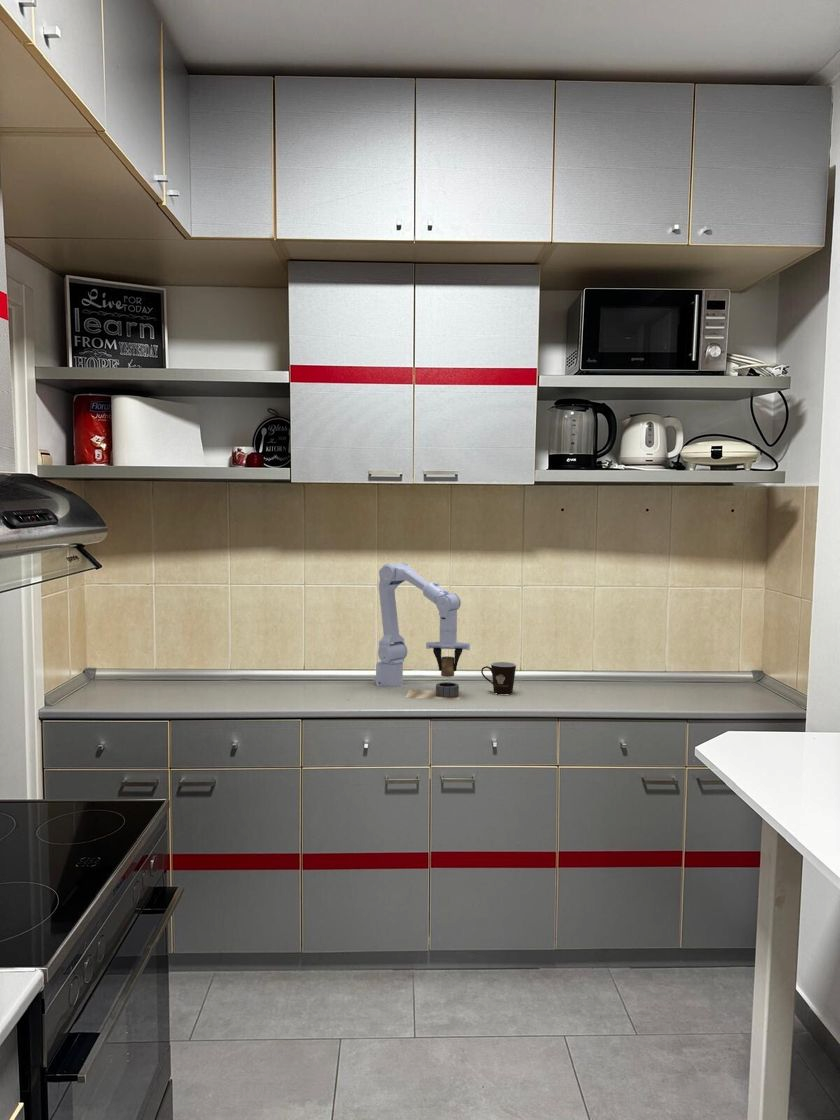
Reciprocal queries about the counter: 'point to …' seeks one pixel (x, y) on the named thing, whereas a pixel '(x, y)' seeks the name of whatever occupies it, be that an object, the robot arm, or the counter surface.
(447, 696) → the sleeve
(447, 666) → the plug
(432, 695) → the board
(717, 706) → the counter surface
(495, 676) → the coffee mug
